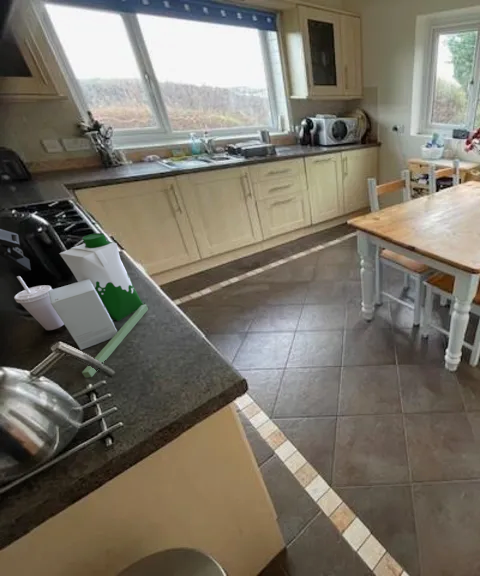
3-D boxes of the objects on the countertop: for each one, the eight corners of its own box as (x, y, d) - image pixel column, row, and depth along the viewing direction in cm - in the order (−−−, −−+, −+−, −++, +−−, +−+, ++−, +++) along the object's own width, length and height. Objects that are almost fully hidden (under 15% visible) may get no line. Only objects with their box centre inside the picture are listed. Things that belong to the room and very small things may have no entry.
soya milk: (149, 304, 87) (116, 234, 77) (117, 324, 80) (76, 249, 70) (125, 299, 90) (90, 230, 79) (91, 318, 82) (47, 245, 72)
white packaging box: (120, 335, 76) (94, 289, 70) (80, 351, 72) (48, 303, 65) (114, 322, 81) (89, 277, 74) (76, 335, 77) (46, 290, 70)
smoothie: (34, 327, 79) (-2, 277, 72) (66, 314, 84) (36, 266, 77) (42, 337, 76) (6, 285, 69) (76, 323, 81) (45, 273, 74)
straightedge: (85, 378, 65) (81, 372, 64) (143, 309, 86) (141, 304, 85) (91, 377, 65) (88, 371, 65) (148, 309, 86) (146, 304, 85)
